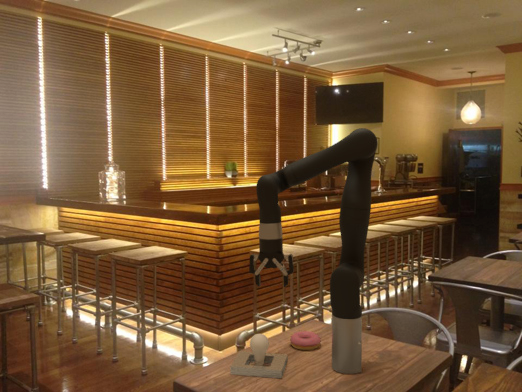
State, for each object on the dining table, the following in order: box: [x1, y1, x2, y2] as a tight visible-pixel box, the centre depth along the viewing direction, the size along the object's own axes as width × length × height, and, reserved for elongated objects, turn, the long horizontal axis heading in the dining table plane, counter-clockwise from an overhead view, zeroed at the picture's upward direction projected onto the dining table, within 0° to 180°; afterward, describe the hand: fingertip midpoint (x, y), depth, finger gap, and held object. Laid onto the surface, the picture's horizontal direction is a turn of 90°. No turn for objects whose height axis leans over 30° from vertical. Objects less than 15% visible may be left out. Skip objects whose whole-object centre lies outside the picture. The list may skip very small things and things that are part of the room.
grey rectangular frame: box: [229, 350, 288, 380], centre depth 151 cm, size 16×12×2 cm
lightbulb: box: [249, 333, 270, 366], centre depth 151 cm, size 6×6×11 cm
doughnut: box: [289, 330, 322, 351], centre depth 169 cm, size 11×11×4 cm
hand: (271, 286), depth 154 cm, fingers open, 8 cm apart
